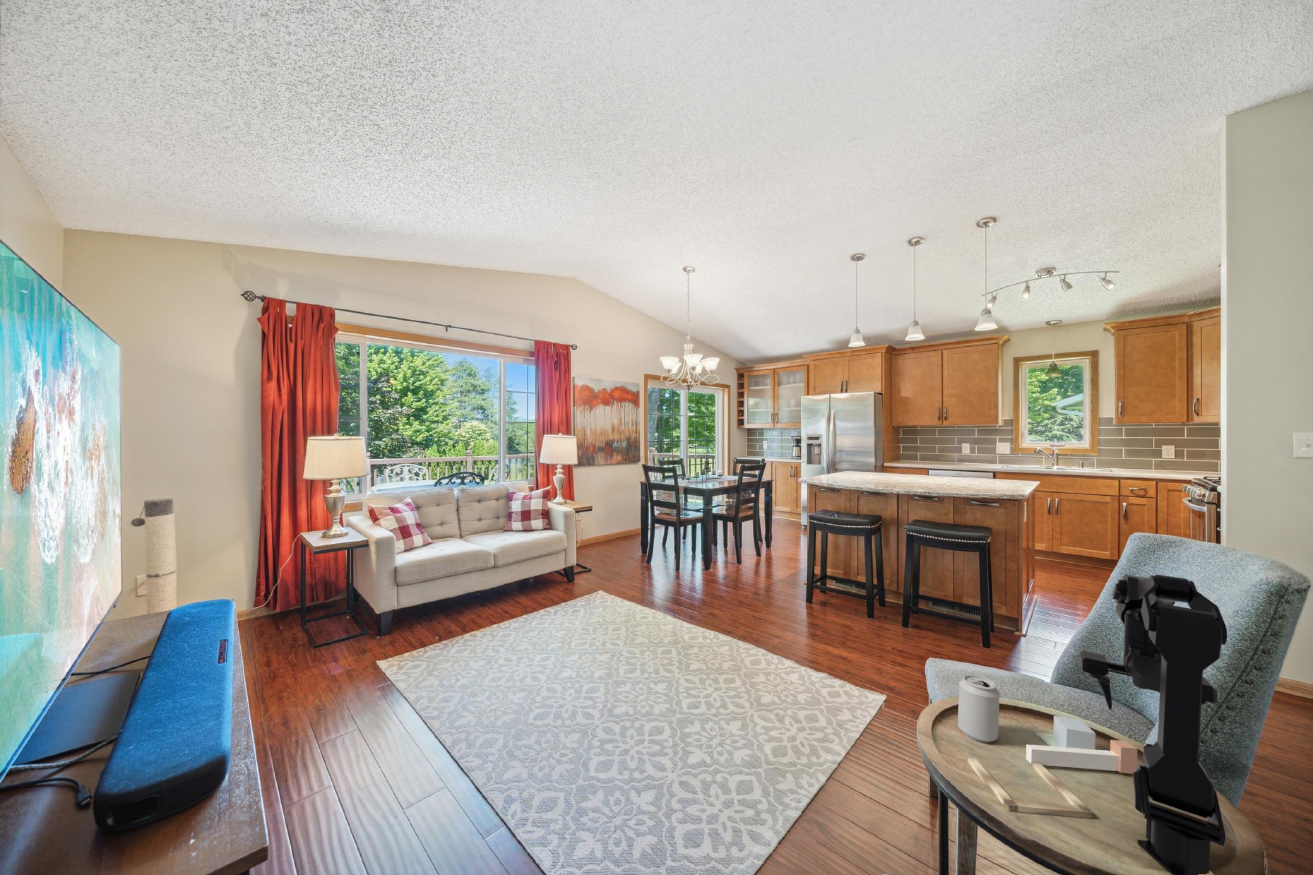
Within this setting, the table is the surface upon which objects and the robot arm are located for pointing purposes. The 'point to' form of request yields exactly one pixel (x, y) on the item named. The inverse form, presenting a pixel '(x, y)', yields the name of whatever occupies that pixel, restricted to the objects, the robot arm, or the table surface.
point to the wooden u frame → (1071, 810)
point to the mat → (1048, 739)
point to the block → (1073, 733)
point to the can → (978, 708)
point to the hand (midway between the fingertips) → (1141, 717)
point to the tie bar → (1086, 757)
